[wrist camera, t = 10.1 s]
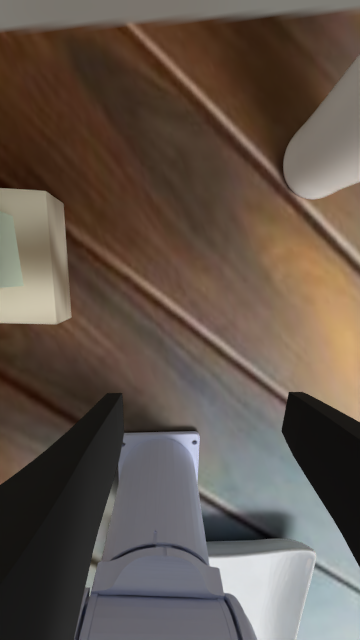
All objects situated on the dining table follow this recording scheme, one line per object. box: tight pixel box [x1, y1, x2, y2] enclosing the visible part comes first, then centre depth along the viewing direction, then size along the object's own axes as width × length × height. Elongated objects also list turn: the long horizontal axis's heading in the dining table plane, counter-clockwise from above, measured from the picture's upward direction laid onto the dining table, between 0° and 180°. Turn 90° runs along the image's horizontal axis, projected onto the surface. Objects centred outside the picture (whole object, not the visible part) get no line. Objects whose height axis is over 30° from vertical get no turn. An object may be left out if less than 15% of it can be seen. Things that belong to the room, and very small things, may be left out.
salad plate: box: [206, 539, 316, 640], centre depth 25 cm, size 21×21×3 cm
